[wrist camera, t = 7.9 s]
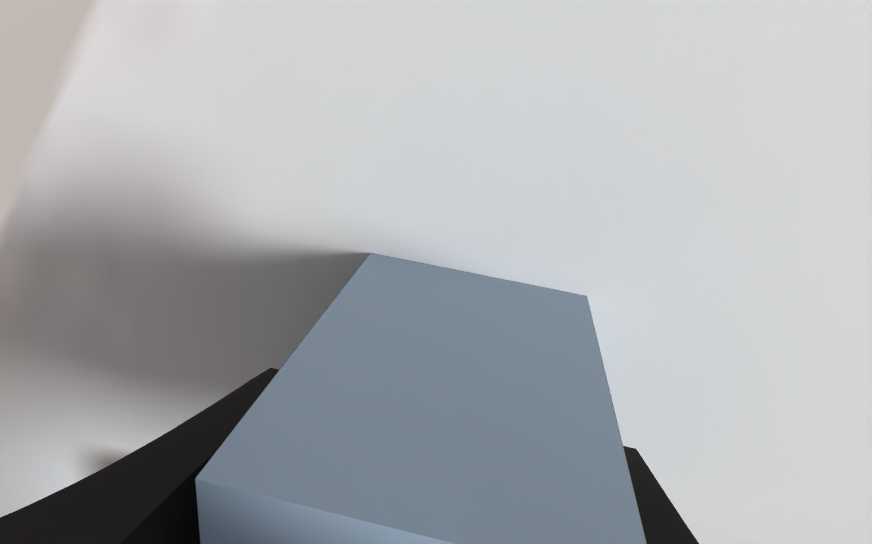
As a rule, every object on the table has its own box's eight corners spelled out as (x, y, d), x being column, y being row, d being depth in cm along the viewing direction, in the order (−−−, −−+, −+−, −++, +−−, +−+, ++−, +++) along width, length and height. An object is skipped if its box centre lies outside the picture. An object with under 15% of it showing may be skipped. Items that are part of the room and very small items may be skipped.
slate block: (586, 293, 11) (659, 594, 5) (536, 457, 14) (544, 816, 7) (372, 250, 12) (195, 478, 6) (356, 416, 14) (214, 718, 8)
